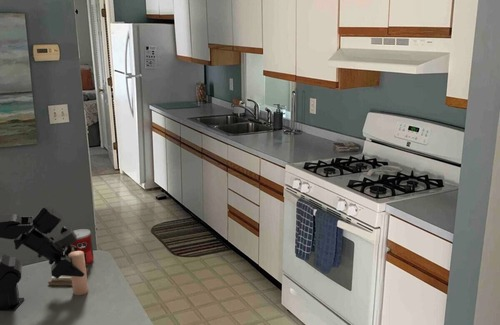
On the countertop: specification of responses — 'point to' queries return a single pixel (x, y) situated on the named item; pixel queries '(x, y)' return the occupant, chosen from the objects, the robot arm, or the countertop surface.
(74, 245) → the canned food
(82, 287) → the post
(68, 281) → the socket plinth
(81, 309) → the countertop surface
